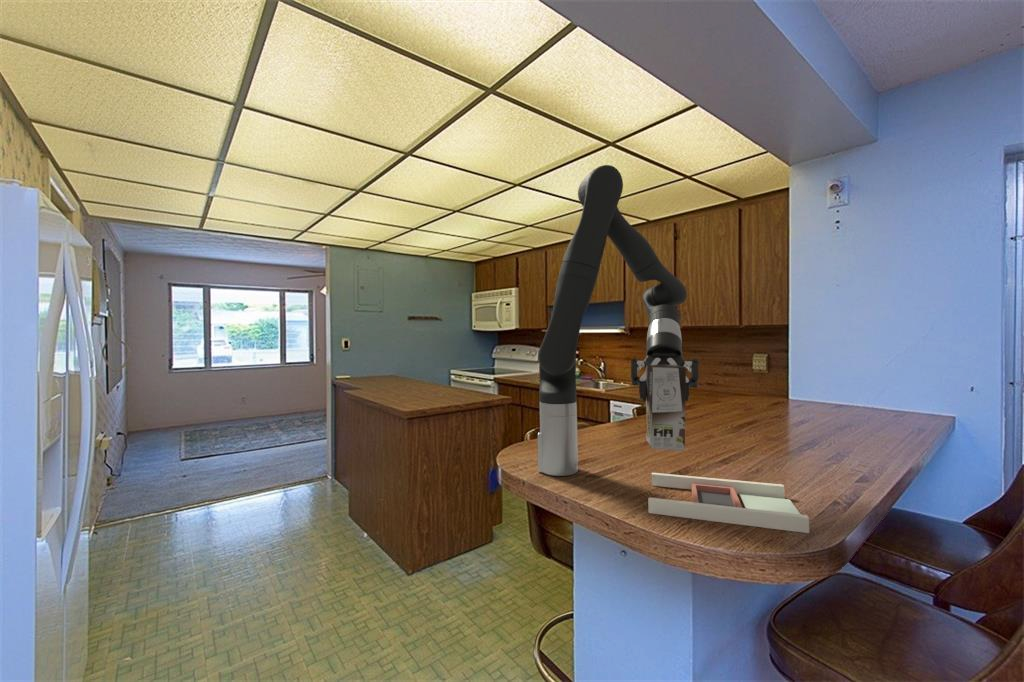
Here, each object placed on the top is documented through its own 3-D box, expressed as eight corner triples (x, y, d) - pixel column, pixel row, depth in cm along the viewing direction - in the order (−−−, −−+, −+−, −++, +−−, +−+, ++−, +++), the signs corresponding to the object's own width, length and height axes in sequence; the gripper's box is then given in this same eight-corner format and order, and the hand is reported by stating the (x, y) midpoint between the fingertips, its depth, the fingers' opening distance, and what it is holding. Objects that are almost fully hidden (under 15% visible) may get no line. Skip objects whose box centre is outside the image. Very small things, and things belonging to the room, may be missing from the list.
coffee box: (686, 451, 77) (687, 366, 77) (651, 449, 79) (651, 366, 79) (676, 439, 86) (677, 364, 86) (645, 438, 88) (645, 363, 88)
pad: (750, 520, 72) (750, 518, 72) (739, 496, 83) (739, 494, 83) (809, 527, 69) (809, 525, 69) (789, 501, 80) (789, 499, 80)
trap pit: (695, 515, 74) (694, 506, 74) (691, 490, 87) (691, 483, 87) (744, 521, 72) (744, 512, 72) (733, 494, 84) (733, 487, 84)
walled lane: (648, 513, 76) (648, 499, 76) (652, 483, 91) (651, 472, 91) (809, 533, 67) (808, 518, 67) (783, 496, 82) (782, 484, 82)
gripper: (630, 330, 94) (626, 387, 83) (698, 330, 89) (703, 390, 78) (632, 353, 99) (628, 409, 88) (697, 353, 94) (701, 413, 83)
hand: (663, 400), depth 83 cm, fingers closed on coffee box, 7 cm apart
